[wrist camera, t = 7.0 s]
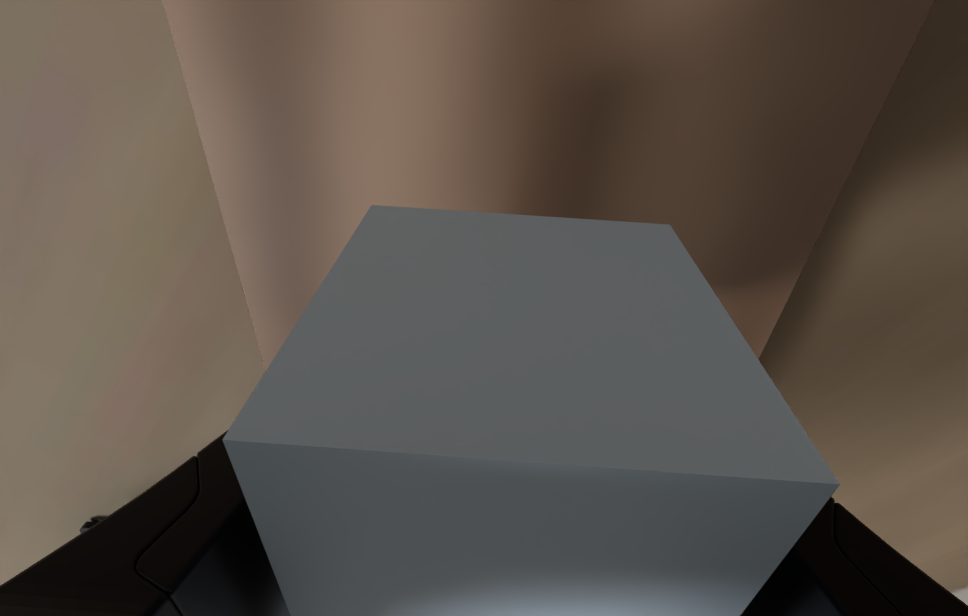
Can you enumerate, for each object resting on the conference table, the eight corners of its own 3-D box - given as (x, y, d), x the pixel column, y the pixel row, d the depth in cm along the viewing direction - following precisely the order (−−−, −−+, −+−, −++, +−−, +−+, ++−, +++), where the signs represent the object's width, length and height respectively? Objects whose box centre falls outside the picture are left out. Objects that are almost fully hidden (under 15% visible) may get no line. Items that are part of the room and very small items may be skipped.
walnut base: (309, 373, 20) (281, 427, 18) (204, -130, 11) (117, -160, 9) (685, 400, 20) (709, 458, 18) (884, -90, 11) (990, -111, 9)
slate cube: (389, 413, 12) (314, 678, 7) (371, 204, 9) (222, 439, 4) (610, 429, 12) (671, 705, 7) (669, 224, 9) (839, 483, 4)
